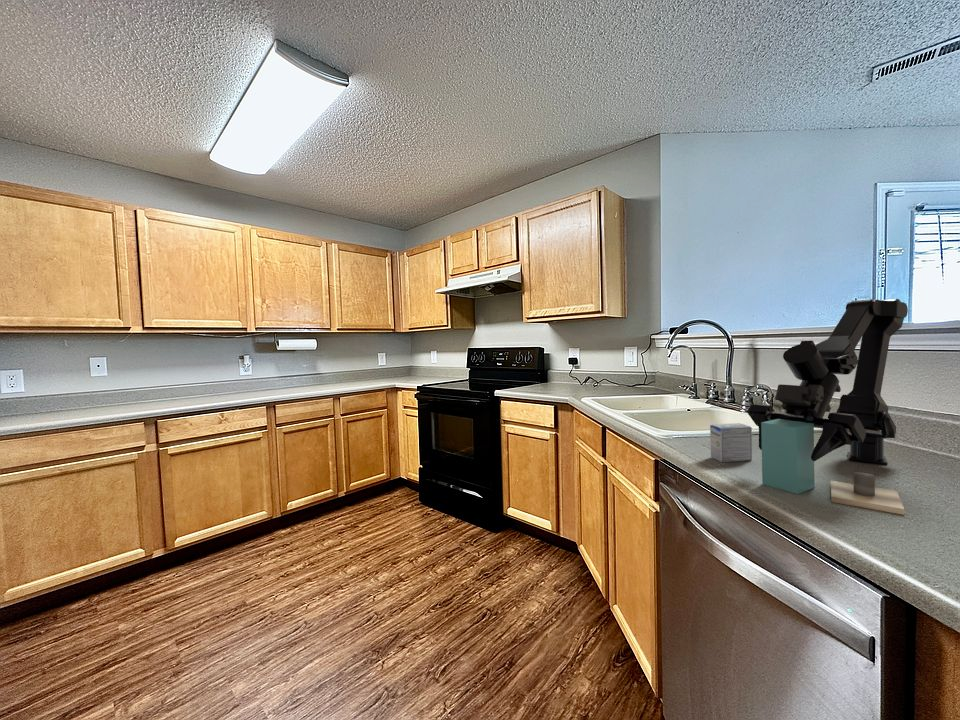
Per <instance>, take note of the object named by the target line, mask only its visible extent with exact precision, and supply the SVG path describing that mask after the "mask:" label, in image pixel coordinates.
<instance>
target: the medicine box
mask: <svg viewBox="0 0 960 720" xmlns="http://www.w3.org/2000/svg"><path fill="white" fill-rule="evenodd" d="M752 429H753V428H752V426H751V425H746V424H744V423H740V422H736V423H734V422H733V423H718V424H711V425H709V431H710V432H709V435H710V436H709V437H710V438H709V439H710V457H711V458H712V459H713V460H715V459H716V461H718V462H721V463H729V462H730V463H732V462H746V461H752V460H753V443H752V442H753V439H752V437H753V434H752V433H753V432H752V431H753V430H752Z"/></svg>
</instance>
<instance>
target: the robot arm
mask: <svg viewBox="0 0 960 720" xmlns="http://www.w3.org/2000/svg"><path fill="white" fill-rule="evenodd" d="M908 310H909V307H908V305H907V303H906V302H905V301H901V300H900V299H899V298H891V299H875V298H868V299H867V298H866V299H858V300H851V301H849V302H847V303H846V306H845V312H844V313H843V314H842V316H841V318H840V319H839V321H838V323H837V324H836V326H835V327H834V329H833V331H832V332H831V334H830V335H829V337H828V338H827V339H824V340H823V341H820V342H818V343H817V344H815V342H814V340H801V341H800V343H799V344H796V345H793V346H791V347H790V348H788V349H787V350H784V353H783V355H782V357H783V360H784V362H785V364H786V366H788V368H789V369H790V371H791V373H792V374H793V376H794V377H795V378H796V379H797V380H800V381H801V382H800V384H799V385H796V384H795V385H793V384H778V385H777V389H776V393H775V398H774V400H775V401H778V402H780V403H782V404H781V408H782V409H783V410H785V411H786V412H780V411H779V412H778V411H775V409H774V408H773V406H772V405H770V404H761V403H752V404H750V405H749V406H748V408H747V409H746V413H747V414H748V416H749V418H750V419H751V421H752V422H753V423H754V424H755V425H756V426H757V427H758V448H759V449H760V450H761V451H762V437H761V422H766V421H771V420H775V419H783V420H791V421H798V422H805V423H813V424H814V429H822V431H821V435H820V436H819V439H818V440H817V442H816V444H815V445H814V450H813V452H812V455H811V459H812V461H814V462H816V461H817V460H820V459H821V458H823V457H825V456H826V455H828V454H830V453H831V452H833V451H835V450H837V449H839V448H841V447H844V446H845V445H849V451H847V452H846V453H847V459H848V461H853V462H863V463H869V464H870V463H871V464H880V465H889V464H888V463H889V462H888V460H887V458H886V456H885V453H884V451H885V448H884V447H885V442H884V441H885V439H896V434H897V426H896V424H895V422H894V421H893V419H892V417H891V415H890V414H889V406H888V405H887V403H886V402H885V401H884V399H883V397H882V396H881V393H882V387H883V381H884V376H885V369H886V363H887V358H888V353H889V346H890V339H891V337H892V336H893V335H894V334H896V333H897V331H899V330H900V329H901V328H902V327H903V324H904V319H906V317H907V315H908V312H909V311H908ZM859 342H860V347H859V353H858V356H857V354H856V352H855V350H856V348H857V346H858V344H859ZM853 370H855V374H854V380H853V384H852V385H853V386H852V390H851V391H850V392H849V393H847V394H842V395H841V397H840V399H839V405H838V408H837V409H836V411H835V412H831V409H832V407H831V405H830V403H831V401H832V399H833V397H834V394H835V393H840V392H841V390H842V389H841V388H842V387H841V386H840V380H839V378H838V376H836V375H842V376H843V375H845V376H847V375H850V374H851V373H852V372H853ZM827 412H828V413H829V414H828V416H827V418H824V416H825V414H826V413H827Z"/></svg>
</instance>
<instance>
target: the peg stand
mask: <svg viewBox="0 0 960 720" xmlns="http://www.w3.org/2000/svg"><path fill="white" fill-rule="evenodd" d="M852 475H853V476H852V477H853V478H852V479H853V482H852V483H850V482H843V481H838V480H837V481H836V480H830V498H831V499H830V501H831V502H832V503H836V504H842V505H847V506H851V507H852V506H853V507H858V508H864V509H870V510H875V511H880V512H885V513H886V512H887V513H893V514H897V515H902V516H903V515H905V507H904V504H903V502H902V500H901V498H900V496H899V494H898V491H897V490H896V489H892V488H891V489H889V488H883V487H876V476H875V475H874V474H872V473H867V472H860V471H858V472H857V471H856V472H855V471H854V472H853V474H852Z"/></svg>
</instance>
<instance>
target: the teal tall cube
mask: <svg viewBox="0 0 960 720" xmlns="http://www.w3.org/2000/svg"><path fill="white" fill-rule="evenodd" d="M761 437H762V450H761V476H762V477H761V481H762V485H764V486H767V487H770V488H773V489H778V490H781V491H785V492H788V493H791V494H795V495H799V494H802V493H805V492H807V491H810V490H813V489H815V486H816V485H815V461H812V459H811V455H812V452H813V450H814V448H815V428H814V424H813V423H805V422H798V421H791V420H783V419H775V420H771V421H766V422H761Z"/></svg>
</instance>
